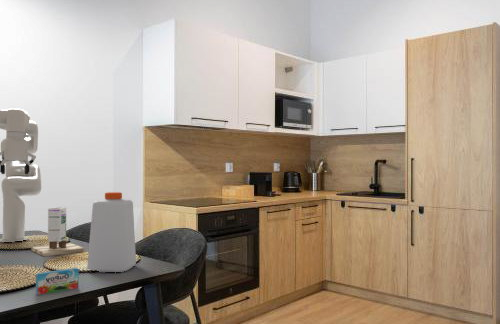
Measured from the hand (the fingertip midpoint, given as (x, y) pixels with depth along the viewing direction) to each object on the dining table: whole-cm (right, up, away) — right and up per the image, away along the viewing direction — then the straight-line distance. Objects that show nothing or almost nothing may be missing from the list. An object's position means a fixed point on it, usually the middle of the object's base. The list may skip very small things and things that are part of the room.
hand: (14, 174), depth 202 cm
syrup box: (+22, -29, -6) cm, 37 cm away
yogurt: (+49, -34, -68) cm, 90 cm away
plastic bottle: (+56, -34, -37) cm, 75 cm away
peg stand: (+22, -34, -6) cm, 40 cm away
